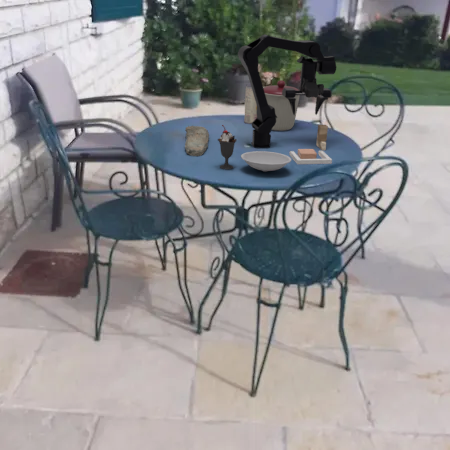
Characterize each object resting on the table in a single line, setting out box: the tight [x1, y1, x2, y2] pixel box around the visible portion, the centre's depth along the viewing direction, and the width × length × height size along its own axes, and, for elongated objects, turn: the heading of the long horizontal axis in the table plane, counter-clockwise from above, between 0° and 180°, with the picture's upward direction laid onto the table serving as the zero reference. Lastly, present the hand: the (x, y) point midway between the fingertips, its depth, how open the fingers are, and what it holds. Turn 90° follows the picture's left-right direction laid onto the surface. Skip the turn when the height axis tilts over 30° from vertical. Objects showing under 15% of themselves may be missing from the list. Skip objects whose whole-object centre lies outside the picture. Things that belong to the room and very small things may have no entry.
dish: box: [240, 150, 292, 173], centre depth 194 cm, size 18×14×5 cm
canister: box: [263, 79, 301, 132], centre depth 245 cm, size 18×18×21 cm
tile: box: [297, 148, 318, 159], centre depth 211 cm, size 6×6×2 cm
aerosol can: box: [243, 81, 257, 125], centre depth 254 cm, size 7×7×20 cm
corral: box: [288, 150, 333, 165], centre depth 208 cm, size 13×12×2 cm
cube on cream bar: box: [315, 124, 329, 151], centre depth 221 cm, size 8×3×9 cm, turn 8°
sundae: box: [217, 124, 237, 171], centre depth 194 cm, size 7×7×15 cm
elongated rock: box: [184, 125, 210, 157], centre depth 223 cm, size 35×5×10 cm
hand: (305, 114), depth 223 cm, fingers open, 9 cm apart
